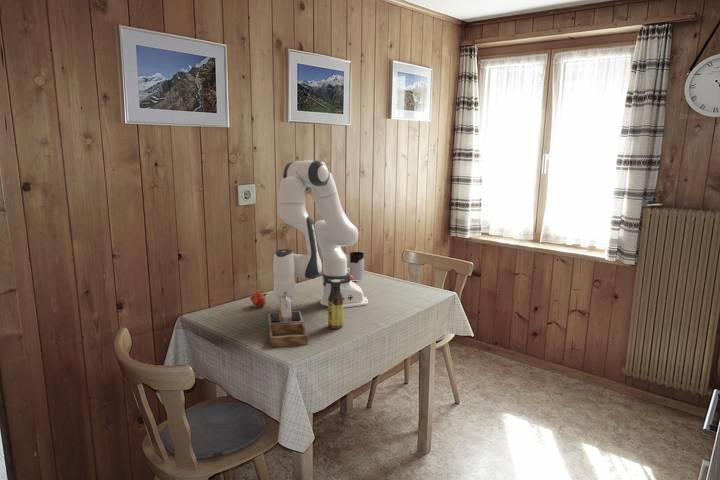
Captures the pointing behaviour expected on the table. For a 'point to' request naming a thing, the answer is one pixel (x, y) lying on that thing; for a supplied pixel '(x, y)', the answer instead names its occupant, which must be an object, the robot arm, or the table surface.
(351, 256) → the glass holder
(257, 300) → the pomegranate
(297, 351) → the table surface
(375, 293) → the table surface
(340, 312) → the sauce bottle
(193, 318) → the table surface
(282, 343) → the walnut box
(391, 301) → the table surface
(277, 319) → the grey box
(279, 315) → the letter cube
